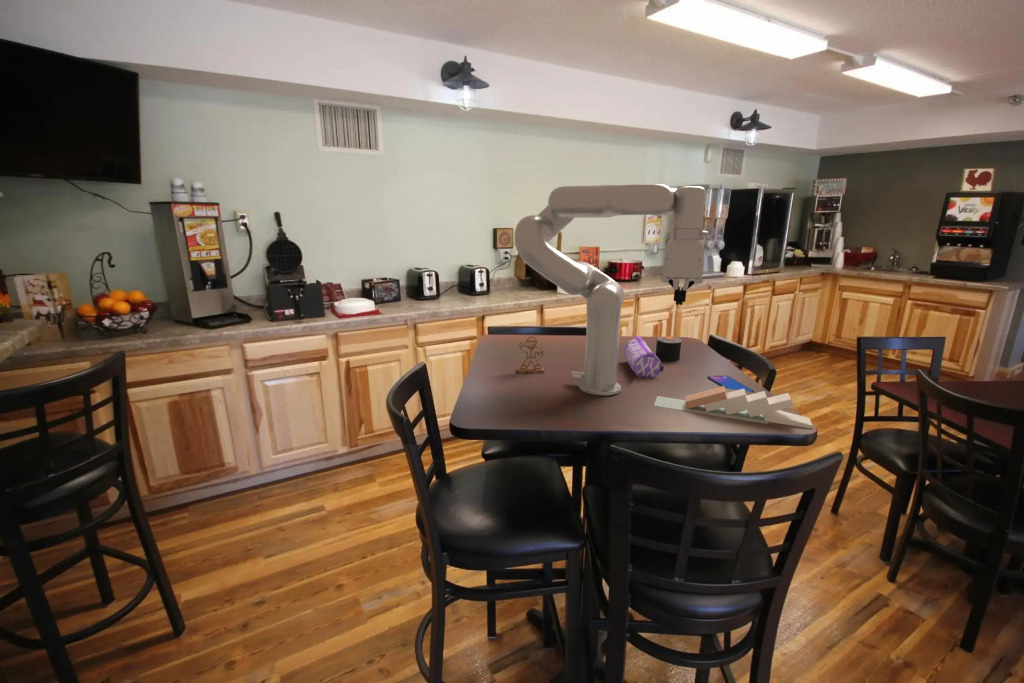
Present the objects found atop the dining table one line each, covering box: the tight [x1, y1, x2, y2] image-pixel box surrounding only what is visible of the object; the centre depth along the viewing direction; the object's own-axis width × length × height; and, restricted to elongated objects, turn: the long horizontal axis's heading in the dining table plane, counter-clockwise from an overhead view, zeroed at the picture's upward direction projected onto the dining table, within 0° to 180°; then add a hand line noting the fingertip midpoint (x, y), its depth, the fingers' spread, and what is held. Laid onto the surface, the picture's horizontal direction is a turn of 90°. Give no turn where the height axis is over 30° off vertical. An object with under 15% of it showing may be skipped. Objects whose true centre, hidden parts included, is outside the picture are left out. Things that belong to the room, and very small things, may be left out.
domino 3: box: [724, 390, 769, 415], centre depth 118 cm, size 2×5×10 cm
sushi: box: [655, 335, 682, 362], centre depth 173 cm, size 8×8×8 cm
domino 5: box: [763, 410, 814, 429], centre depth 115 cm, size 2×5×10 cm
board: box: [653, 395, 769, 425], centre depth 122 cm, size 27×8×1 cm, turn 66°
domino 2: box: [704, 389, 748, 412], centre depth 120 cm, size 2×5×10 cm
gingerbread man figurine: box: [516, 336, 546, 373], centre depth 154 cm, size 9×4×12 cm, turn 95°
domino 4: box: [747, 392, 795, 417], centre depth 116 cm, size 2×5×10 cm
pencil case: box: [623, 336, 665, 379], centre depth 158 cm, size 22×9×10 cm, turn 178°
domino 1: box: [684, 386, 728, 409], centre depth 122 cm, size 2×5×10 cm
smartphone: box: [707, 375, 755, 393], centre depth 145 cm, size 7×1×15 cm
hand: (679, 304), depth 127 cm, fingers closed
